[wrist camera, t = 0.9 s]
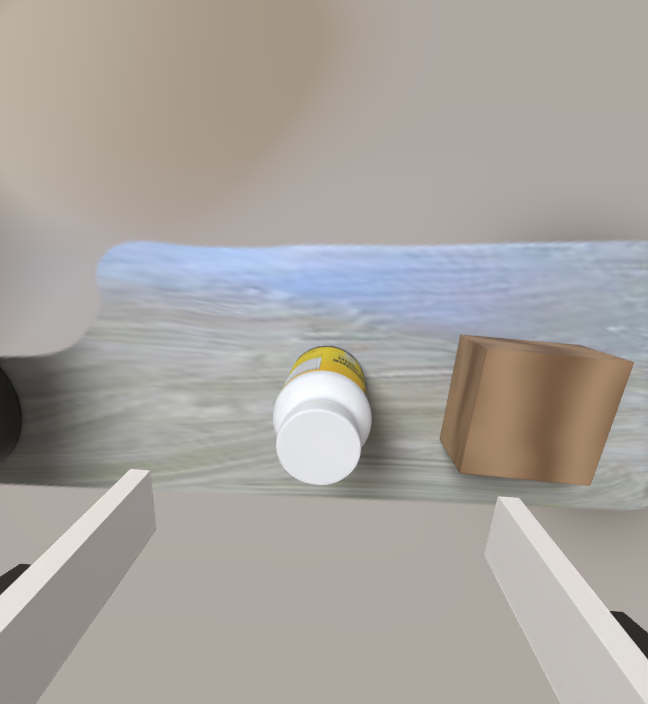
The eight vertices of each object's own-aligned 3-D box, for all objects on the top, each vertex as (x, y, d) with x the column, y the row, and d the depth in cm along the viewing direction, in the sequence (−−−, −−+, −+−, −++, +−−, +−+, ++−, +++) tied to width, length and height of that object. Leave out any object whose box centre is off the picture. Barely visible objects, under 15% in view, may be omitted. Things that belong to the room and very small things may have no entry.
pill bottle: (367, 405, 29) (386, 493, 17) (298, 415, 29) (273, 506, 18) (357, 337, 27) (370, 385, 16) (284, 349, 28) (247, 403, 16)
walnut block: (439, 439, 29) (459, 472, 24) (460, 334, 26) (487, 349, 22) (548, 449, 29) (590, 485, 24) (579, 345, 26) (634, 362, 21)
